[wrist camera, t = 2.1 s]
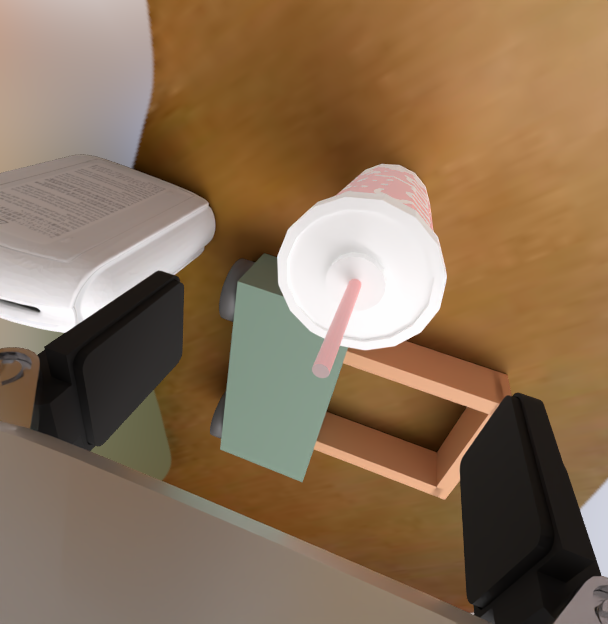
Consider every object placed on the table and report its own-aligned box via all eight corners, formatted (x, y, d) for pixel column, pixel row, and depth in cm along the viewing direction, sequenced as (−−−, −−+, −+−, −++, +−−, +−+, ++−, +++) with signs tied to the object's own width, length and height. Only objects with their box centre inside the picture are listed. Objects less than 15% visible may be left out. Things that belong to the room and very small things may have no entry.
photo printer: (82, 206, 27) (-125, 287, 17) (76, 143, 25) (-171, 196, 15) (214, 256, 26) (74, 374, 16) (221, 196, 24) (61, 292, 14)
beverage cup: (463, 230, 21) (490, 432, 9) (363, 274, 24) (291, 466, 12) (413, 122, 19) (369, 210, 7) (311, 185, 22) (169, 316, 10)
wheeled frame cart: (249, 248, 25) (221, 275, 22) (532, 338, 23) (547, 384, 19) (230, 409, 34) (209, 444, 31) (430, 485, 32) (428, 532, 29)
